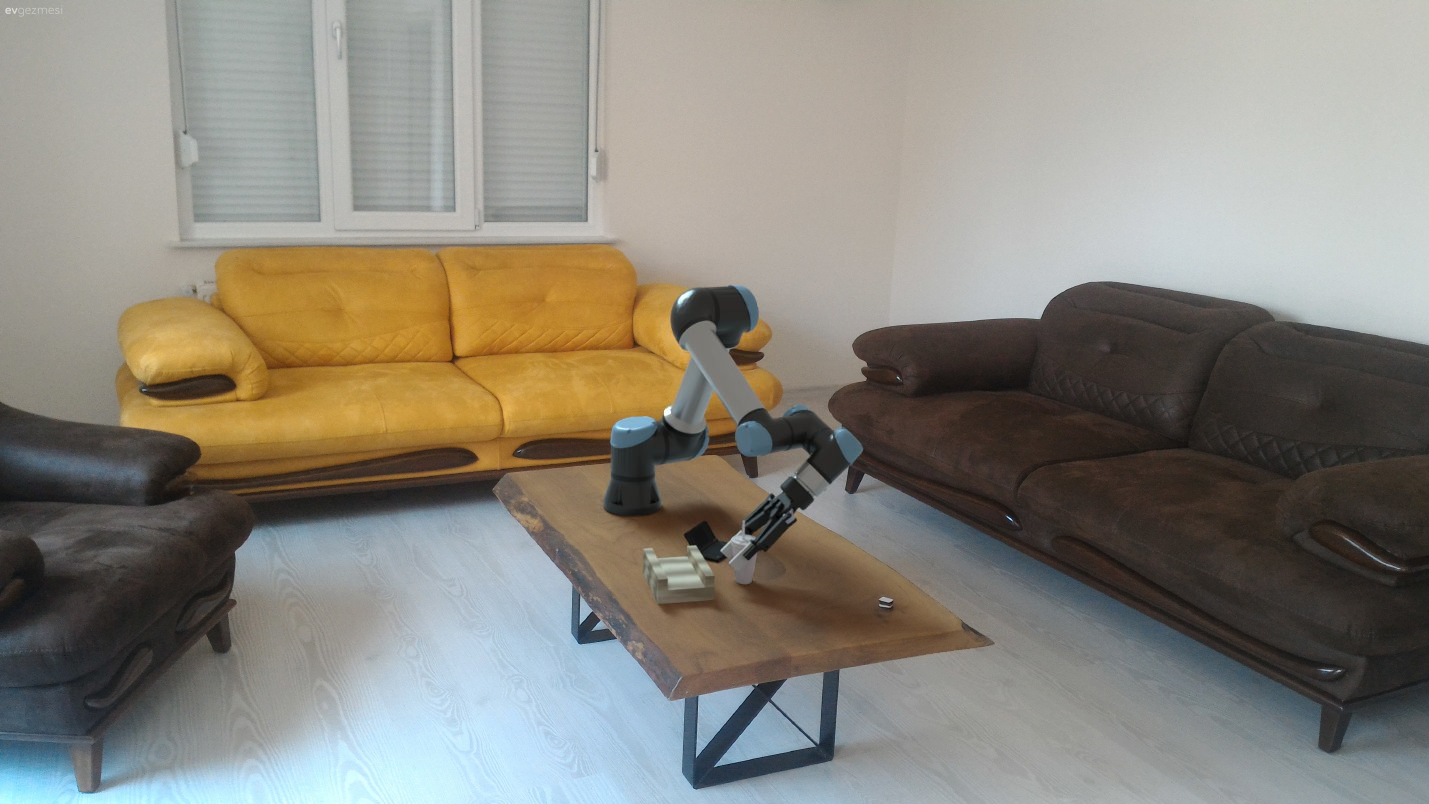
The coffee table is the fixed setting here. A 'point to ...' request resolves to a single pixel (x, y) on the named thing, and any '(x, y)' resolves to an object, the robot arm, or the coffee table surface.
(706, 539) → the handheld gaming console
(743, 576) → the smoothie
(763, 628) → the coffee table surface
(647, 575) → the tray
